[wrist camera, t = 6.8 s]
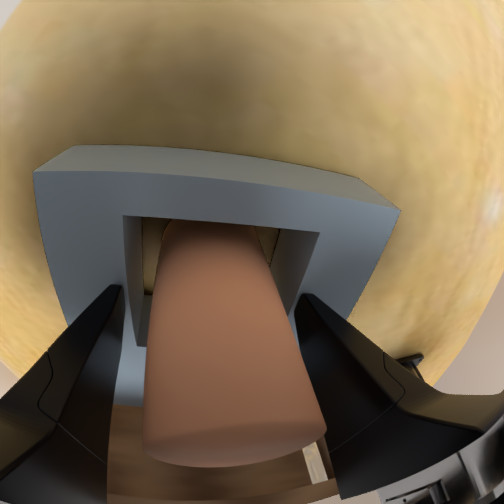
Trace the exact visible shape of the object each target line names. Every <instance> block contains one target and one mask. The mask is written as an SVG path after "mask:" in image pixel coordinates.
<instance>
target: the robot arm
mask: <svg viewBox="0 0 504 504" xmlns="http://www.w3.org/2000/svg"><path fill="white" fill-rule="evenodd" d="M125 310H126V303H125V296H124V289H123V286H122V285H119V284H110V285H109V286H108V287H107V288H106V289H105V290H104V291H103V292H102V293H101V294H100V295H99V296H98V297H97V298H96V299H95V300H94V301H93V302H92V303H91V304H90V305H89V306H88V307H87V308H86V309H85V310H84V311H83V312H82V313H81V314H80V315H79V316H78V317H77V318H76V319H75V320H74V321H73V322H72V323H71V324H70V325H69V326H68V327H67V329H66V330H65V331H64V332H63V333H62V334H61V335H60V336H59V337H58V338H57V339H56V340H55V342H54V343H53V344H52V345H51V346H50V347H49V348H48V350H47V351H48V352H47V351H46V352H45V353H44V354H43V355H42V356H41V357H40V358H39V360H38V361H37V362H36V363H35V364H34V365H33V366H32V367H31V368H30V370H29V371H28V372H27V373H26V374H25V375H24V376H23V377H22V378H21V379H20V380H19V381H18V382H17V383H16V384H15V385H14V386H13V387H12V388H11V389H10V390H9V391H8V392H7V393H6V394H5V395H4V396H3V397H2V398H1V399H0V504H107V468H108V466H107V464H108V448H109V436H110V426H111V416H112V408H113V401H114V393H115V387H116V380H117V374H118V369H119V363H120V358H121V351H122V341H123V330H124V319H125ZM294 319H295V325H296V331H297V336H298V342H299V348H300V353H301V356H302V359H303V362H304V364H305V367H306V370H307V373H308V376H309V378H310V381H311V384H312V387H313V390H314V393H315V395H316V398H317V401H318V404H319V407H320V410H321V413H322V415H323V418H324V421H325V424H326V427H327V430H326V432H325V434H324V438H325V441H326V445H327V449H328V452H329V457H330V460H331V464H332V468H333V472H334V475H335V479H336V483H337V487H338V491H339V494H340V498H341V500H343V499H347V498H350V497H354V496H358V495H361V494H364V493H367V492H371V491H374V490H377V492H378V495H379V498H380V501H381V504H504V390H503V391H502V392H501V393H499V394H495V395H454V394H446V393H442V392H440V391H438V390H436V389H434V388H433V387H431V386H430V385H428V384H427V383H426V382H425V381H424V379H423V377H422V376H421V374H420V372H419V370H418V369H417V367H416V366H417V365H418V364H419V363H420V362H421V361H422V360H423V358H424V356H423V355H422V354H420V355H416V356H412V357H409V358H405V359H401V360H397V361H395V360H394V359H393V358H391V357H390V356H389V355H388V354H387V353H385V352H383V350H382V349H380V348H379V347H378V346H377V345H376V344H374V343H373V342H372V341H371V340H369V339H368V338H367V337H366V336H365V335H363V334H362V333H361V332H360V331H358V330H357V329H356V328H355V327H354V326H352V325H351V324H350V323H349V322H347V321H346V320H345V319H344V318H343V317H341V316H340V315H339V314H338V313H336V312H335V311H334V310H333V309H332V308H330V307H329V306H328V305H327V304H325V303H324V302H323V301H322V300H321V299H319V298H318V297H317V296H316V295H314V294H313V293H303V294H301V295H300V297H299V300H298V302H297V305H296V307H295V310H294Z"/></svg>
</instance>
